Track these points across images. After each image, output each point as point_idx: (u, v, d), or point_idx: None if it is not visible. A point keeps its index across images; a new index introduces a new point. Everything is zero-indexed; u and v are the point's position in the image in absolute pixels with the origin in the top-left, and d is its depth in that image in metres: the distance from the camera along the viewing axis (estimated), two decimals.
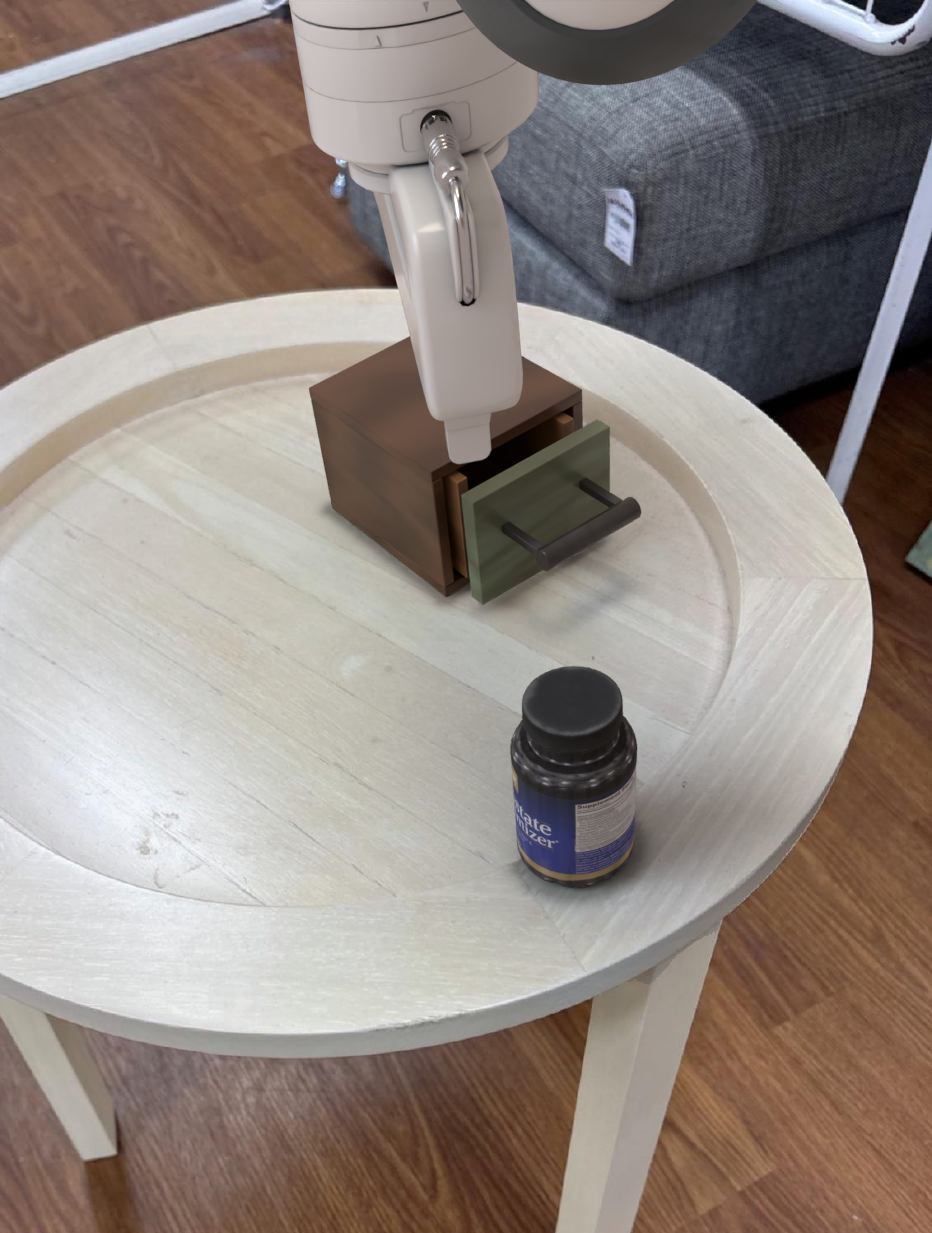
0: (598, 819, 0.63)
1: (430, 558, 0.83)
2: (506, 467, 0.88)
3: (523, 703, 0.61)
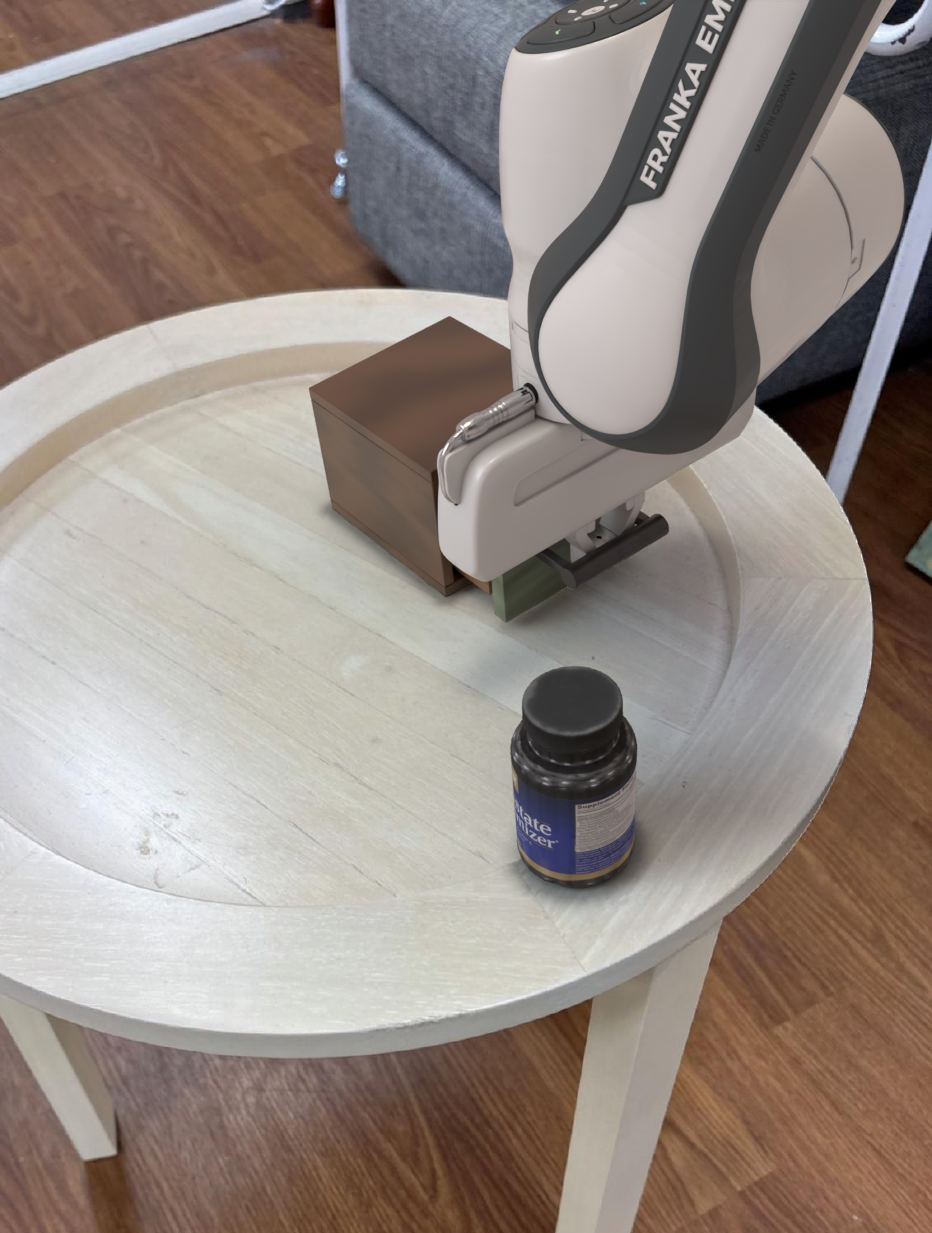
0: (598, 820, 0.63)
1: (430, 558, 0.83)
2: None
3: (523, 703, 0.61)
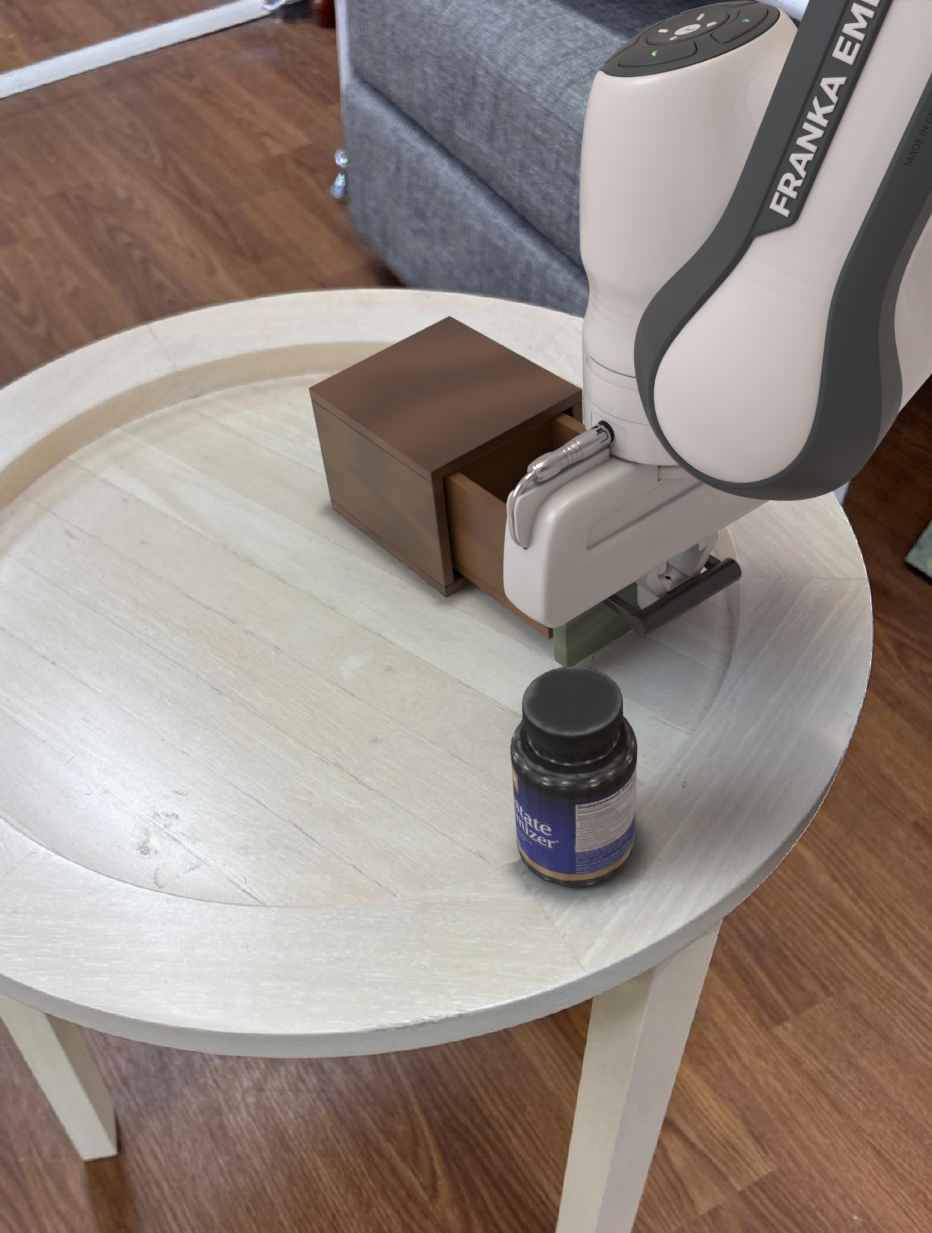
0: (598, 820, 0.63)
1: (430, 558, 0.83)
2: None
3: (523, 703, 0.61)
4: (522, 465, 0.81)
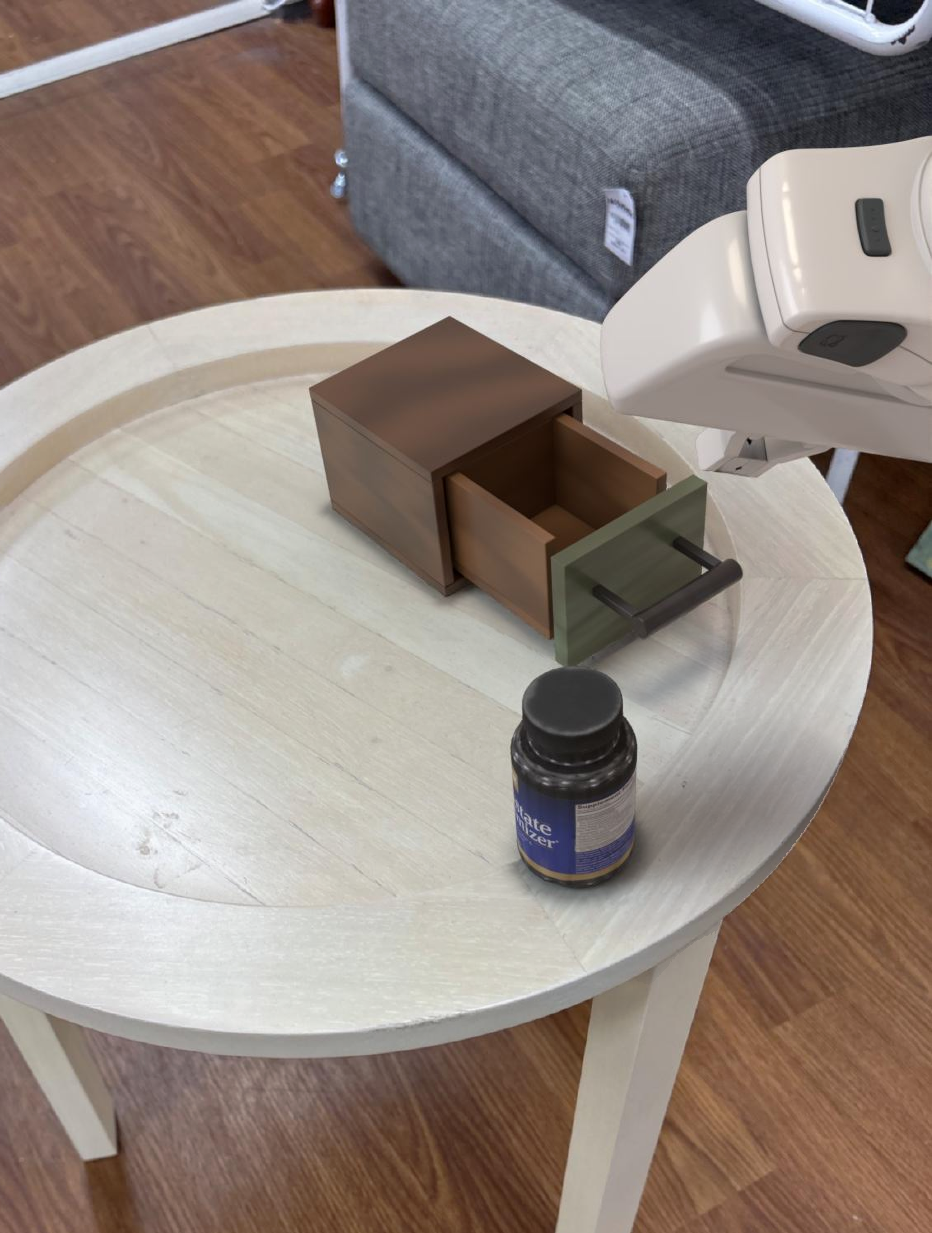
0: (598, 820, 0.63)
1: (430, 558, 0.83)
2: (586, 519, 0.83)
3: (523, 703, 0.61)
4: (523, 466, 0.81)
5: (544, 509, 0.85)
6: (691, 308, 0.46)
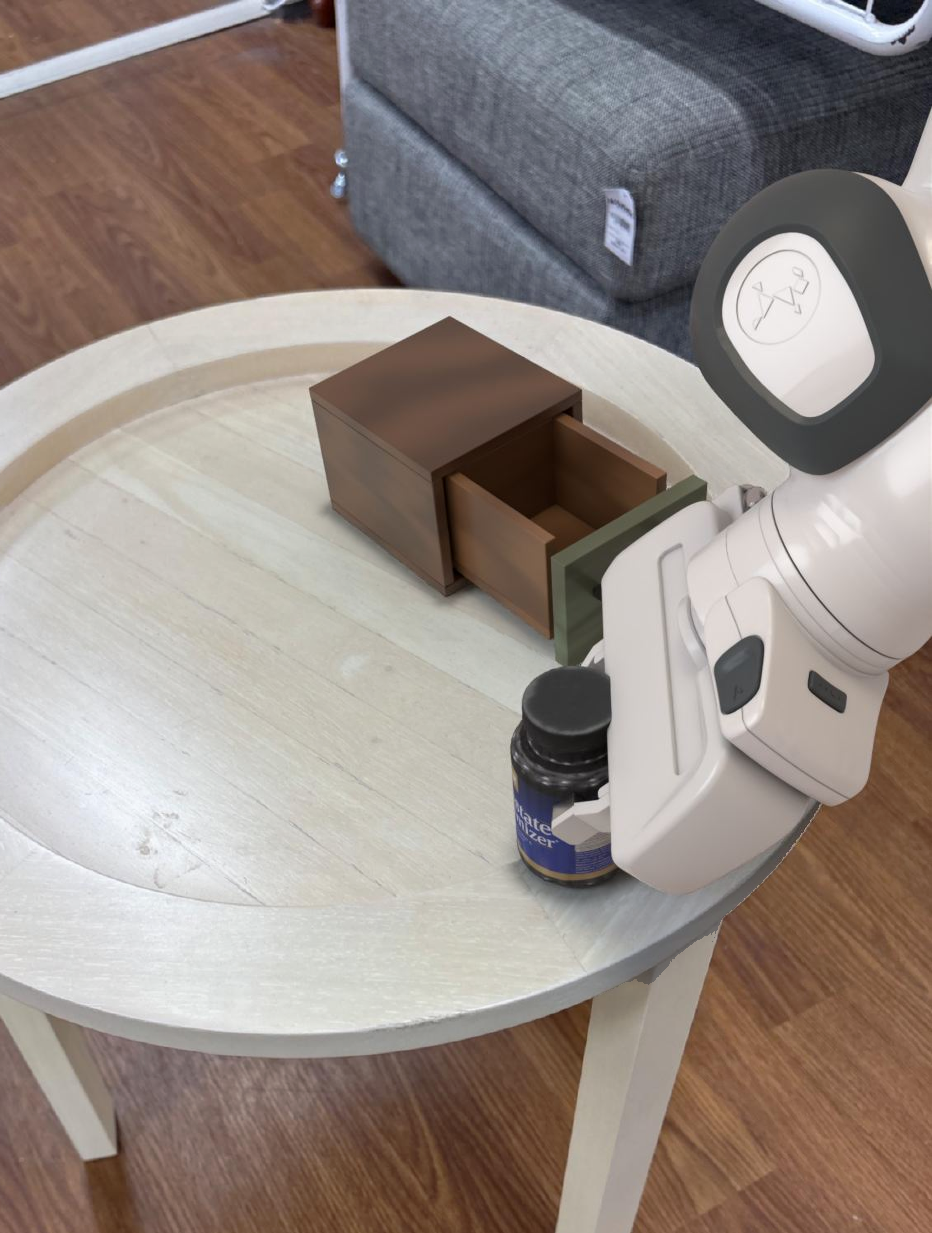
0: None
1: (430, 558, 0.83)
2: (586, 519, 0.83)
3: (523, 702, 0.61)
4: (523, 466, 0.81)
5: (544, 509, 0.85)
6: (749, 828, 0.52)
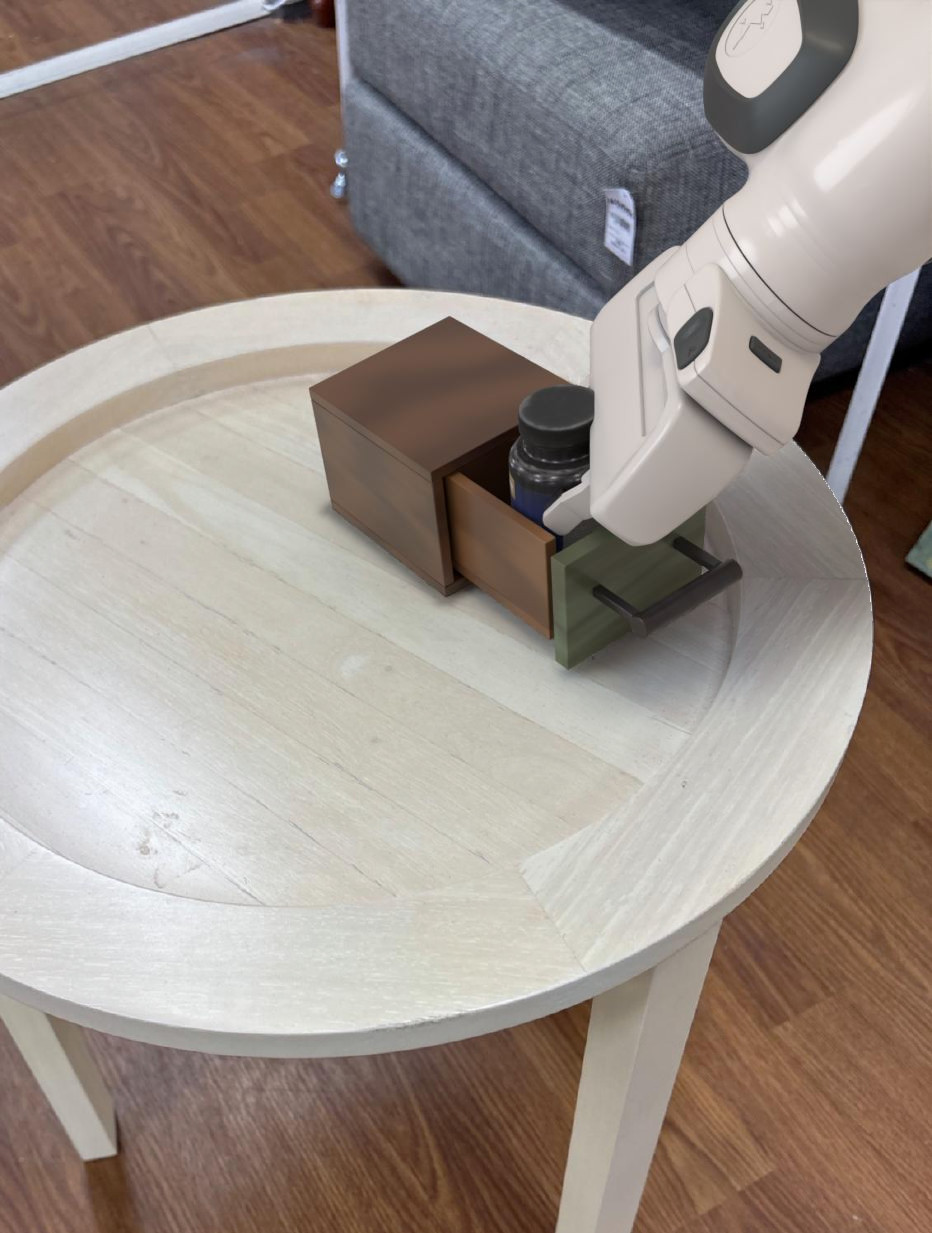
0: None
1: (430, 558, 0.83)
2: None
3: (519, 411, 0.73)
4: None
5: None
6: (701, 471, 0.64)
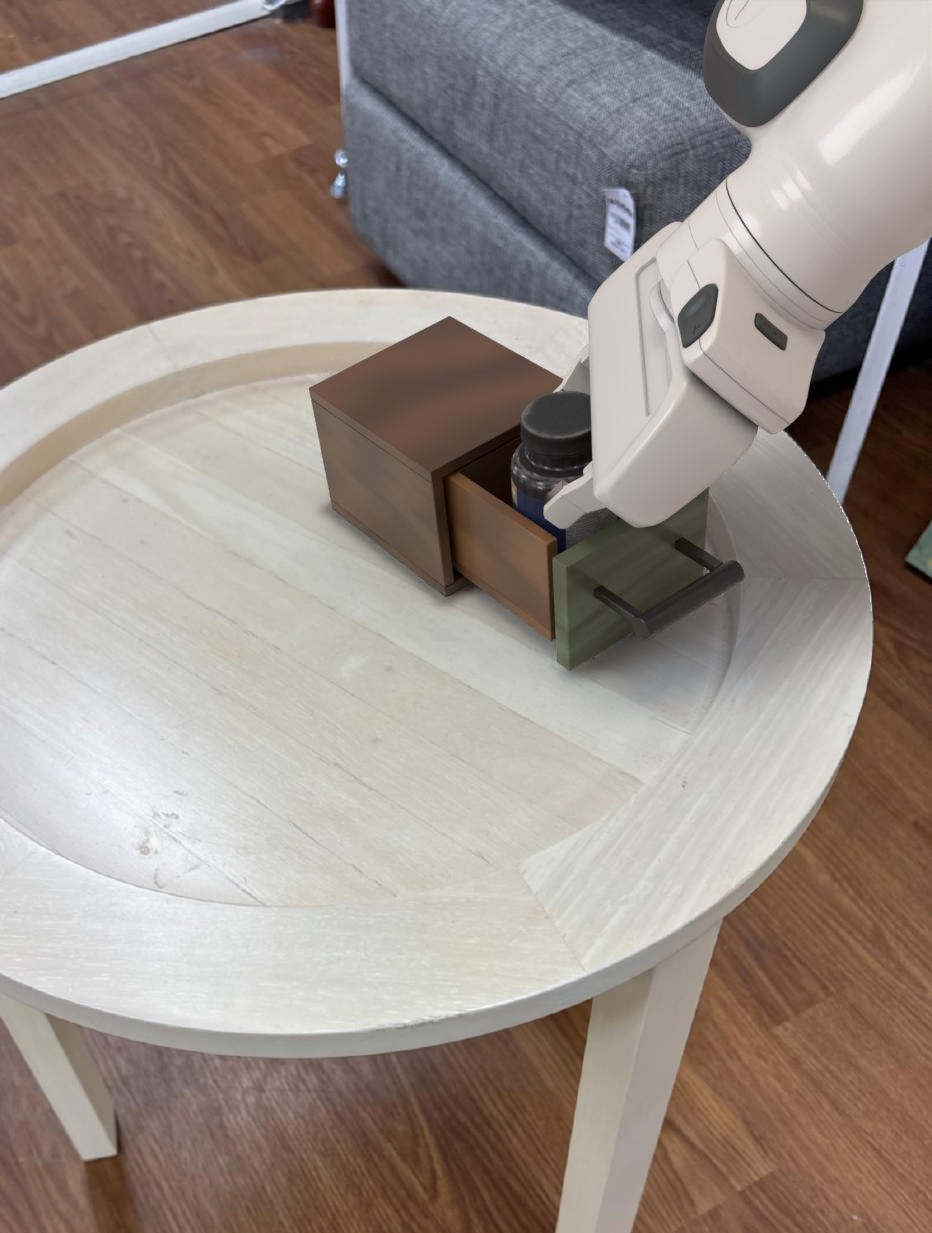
0: (585, 524, 0.75)
1: (430, 558, 0.83)
2: None
3: (521, 418, 0.73)
4: None
5: None
6: (707, 451, 0.63)
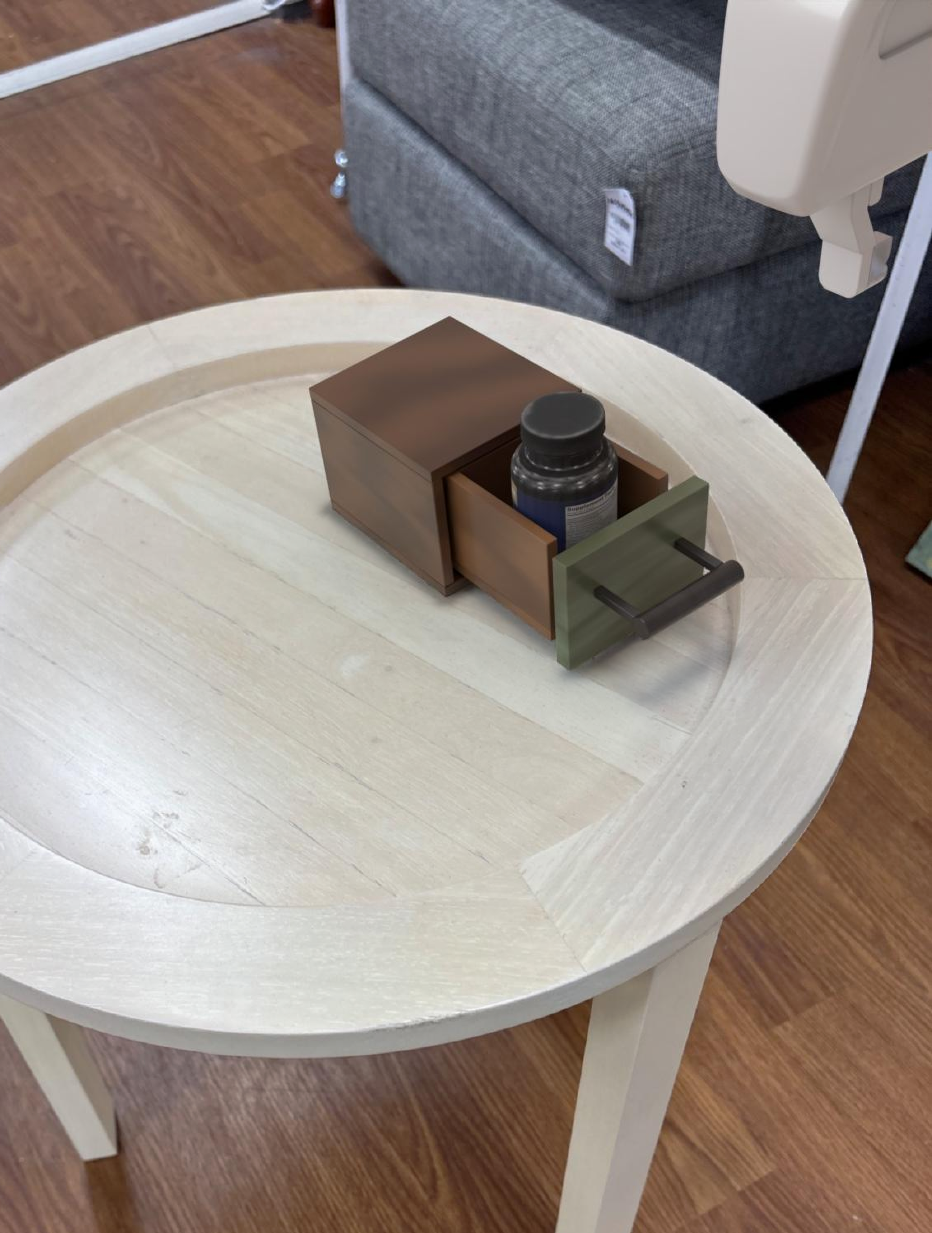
0: (585, 524, 0.75)
1: (430, 558, 0.83)
2: None
3: (521, 418, 0.73)
4: None
5: None
6: (794, 25, 0.38)
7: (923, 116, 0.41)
